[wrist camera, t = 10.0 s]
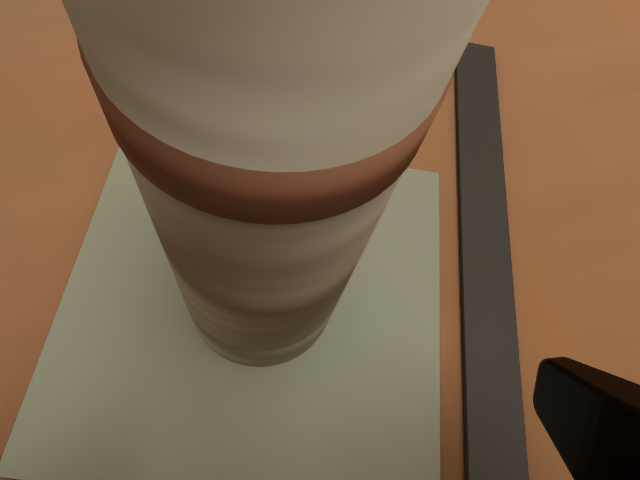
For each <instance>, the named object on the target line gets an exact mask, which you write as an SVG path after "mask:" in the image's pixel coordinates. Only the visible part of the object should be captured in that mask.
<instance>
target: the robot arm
mask: <svg viewBox="0 0 640 480" xmlns="http://www.w3.org/2000/svg"><path fill="white" fill-rule="evenodd" d="M533 404H534V408H535V411H536V413H537V415H538V417H539V419H540V420H541V422H542V424H543V426H544V427H545V429H546V431H547V433H548V434H549V436H550V438H551V440H552V441H553V443H554V445H555V447H556V449H557V450H558V452H559V454H560V456H561V457H562V459H563V461H564V463H565V464H566V466H567V468H568V470H569V471H570V473H571V475H572V477H573V478H574V480H640V385H639V384H636V383H634V382H631V381H628V380H626V379H623V378H620V377H618V376H615V375H612V374H610V373H607V372H604V371H602V370H599V369H596V368H594V367H591V366H588V365H586V364H583V363H580V362H578V361H575V360H572V359H570V358H567V357H556V358H546V359H544V360H542V361H541V362H540V364H539V367H538V372H537V377H536V383H535V389H534V394H533Z"/></svg>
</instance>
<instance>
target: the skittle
mask: <svg viewBox="0 0 640 480" xmlns="http://www.w3.org/2000/svg"><path fill="white" fill-rule="evenodd" d="M62 2H63V4H64V7H65V9H66V12H67V14H68V16H69V19H70V21H71V24H72V26H73V29H74V31H75V34H76V36H77V42H78V47H79V51H80V55H81V60H82V62H83V65H84V67H85V69H86V72H87V74H88V76H89V79H90V81H91V84H92V86H93V88H94V91H95V93H96V96H97V98H98V100H99V103H100V105H101V107H102V110H103V112H104V115H105V117H106V119H107V122H108V124H109V126H110V129H111V131H112V133H113V136H114V138H115V140H116V142H117V144H118V145H119V147H120V148H121V150H122V151H123V153H124V154H125V156H126V159H127V161H128V164H129V166H130V169H131V171H132V174H133V176H134V178H135V181H136V183H137V186H138V188H139V191H140V193H141V196H142V198H143V201H144V203H145V205H146V208H147V210H148V213H149V215H150V218H151V220H152V223H153V225H154V228H155V230H156V232H157V235H158V237H159V240H160V242H161V245H162V247H163V250H164V252H165V255H166V257H167V259H168V262H169V264H170V267H171V269H172V272H173V274H174V277H175V279H176V282H177V284H178V286H179V289H180V291H181V294H182V296H183V299H184V301H185V304H186V306H187V309H188V311H189V313H190V316H191V318H192V321H193V323H194V325H195V328H196V330H197V332H198V333H199V335H200V336H201V338H202V339H203V340H204V342H205V343H206V344H207V345H208V346H209V347H210V348H211V349H212V350H213V351H214V352H216V353H217V354H219V355H220V356H222V357H223V358H226V359H228V360H230V361H232V362H235V363H238V364H241V365H246V366H252V367H267V366H274V365H279V364H282V363H285V362H288V361H290V360H292V359H294V358H296V357H298V356H300V355H301V354H303V353H304V352H305V351H307V350H308V349H309V348H310V347H311V346H312V345H313V344H314V343H315V342H316V341H317V339H318V338H319V337H320V335H321V334H322V332H323V331H324V329H325V327H326V325H327V323H328V321H329V319H330V317H331V315H332V313H333V311H334V309H335V307H336V305H337V303H338V301H339V299H340V297H341V295H342V293H343V291H344V289H345V287H346V285H347V283H348V281H349V279H350V277H351V275H352V273H353V271H354V269H355V267H356V265H357V263H358V261H359V259H360V257H361V255H362V253H363V251H364V249H365V247H366V245H367V243H368V241H369V239H370V237H371V235H372V233H373V231H374V229H375V227H376V225H377V223H378V221H379V219H380V217H381V215H382V213H383V211H384V209H385V207H386V205H387V203H388V201H389V199H390V197H391V196H392V194H393V192H394V190H395V188H396V186H397V184H398V182H399V180H400V178H401V176H402V174H403V172H404V171H405V170H406V169H407V167H408V166H409V164H410V163H411V161H412V160H413V158H414V157H415V155H416V153H417V151H418V149H419V147H420V145H421V143H422V141H423V139H424V137H425V135H426V134H427V132H428V130H429V128H430V126H431V124H432V122H433V120H434V118H435V116H436V114H437V112H438V110H439V108H440V106H441V104H442V102H443V100H444V98H445V96H446V93H447V91H448V89H449V86H450V83H451V79H452V75H453V72H454V70H455V68H456V66H457V64H458V62H459V60H460V58H461V56H462V54H463V52H464V50H465V48H466V46H467V44H468V42H469V40H470V38H471V36H472V34H473V32H474V30H475V28H476V26H477V24H478V22H479V20H480V18H481V16H482V14H483V12H484V10H485V8H486V6H487V4H488V2H489V0H62Z"/></svg>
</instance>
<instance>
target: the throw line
mask: <svg viewBox="0 0 640 480" xmlns="http://www.w3.org/2000/svg"><path fill="white" fill-rule="evenodd" d="M455 96H456V135H457V174H458V212H459V251H460V289H461V328H462V366H463V405H464V444H465V480H529V475H528V462H527V450H526V437H525V425H524V412H523V400H522V387H521V375H520V362H519V350H518V337H517V325H516V313H515V300H514V288H513V275H512V263H511V250H510V238H509V225H508V213H507V200H506V188H505V175H504V163H503V151H502V138H501V126H500V113H499V101H498V88H497V76H496V63H495V51H494V47H490V46H484V45H479V44H474V43H468V44H467V46H466V48H465V50H464V52H463V54H462V56H461V58H460V60H459V62H458V64H457V66H456V68H455Z"/></svg>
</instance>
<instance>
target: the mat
mask: <svg viewBox="0 0 640 480" xmlns="http://www.w3.org/2000/svg"><path fill="white" fill-rule="evenodd" d="M0 477H3V478H12V479H20V480H440V302H439V173H434V172H428V171H422V170H416V169H410V168H407V169H406V170H405V171H404V172H403V174H402V176H401V178H400V180H399V182H398V184H397V186H396V188H395V190H394V192H393V194H392V196H391V197H390V199H389V201H388V203H387V205H386V207H385V209H384V211H383V213H382V215H381V217H380V219H379V221H378V223H377V225H376V227H375V229H374V231H373V233H372V235H371V237H370V239H369V241H368V243H367V245H366V247H365V249H364V251H363V253H362V255H361V257H360V259H359V261H358V263H357V265H356V267H355V269H354V271H353V273H352V275H351V277H350V279H349V281H348V283H347V285H346V287H345V289H344V291H343V293H342V295H341V297H340V299H339V301H338V303H337V305H336V307H335V309H334V311H333V313H332V315H331V317H330V319H329V321H328V323H327V325H326V327H325V329H324V331H323V332H322V334H321V335H320V337H319V338H318V339H317V341H316V342H315V343H314V344H313V345H312V346H311V347H310V348H309V349H308V350H307V351H305V352H304V353H303V354H301V355H300V356H298V357H296V358H294V359H292V360H290V361H288V362H285V363H282V364H279V365H274V366H267V367H252V366H246V365H241V364H238V363H235V362H232V361H230V360H228V359H226V358H223V357H222V356H220V355H219V354H217V353H216V352H214V351H213V350H212V349H211V348H210V347H209V346H208V345H207V344H206V343H205V342H204V340H203V339H202V338H201V336H200V335H199V333H198V332H197V330H196V328H195V325H194V323H193V321H192V318H191V316H190V313H189V311H188V309H187V306H186V304H185V301H184V299H183V296H182V294H181V291H180V289H179V286H178V284H177V282H176V279H175V277H174V274H173V272H172V269H171V267H170V264H169V262H168V259H167V257H166V255H165V252H164V250H163V247H162V245H161V242H160V240H159V237H158V235H157V232H156V230H155V228H154V225H153V223H152V220H151V218H150V215H149V213H148V210H147V208H146V205H145V203H144V201H143V198H142V196H141V193H140V191H139V188H138V186H137V183H136V181H135V178H134V176H133V174H132V171H131V169H130V166H129V164H128V161H127V159H126V156H125V154H124V153H123V151H122V150H121V148H120V147H119V149H118V151H117V154H116V157H115V159H114V162H113V165H112V167H111V170H110V173H109V175H108V178H107V181H106V183H105V186H104V189H103V191H102V194H101V196H100V199H99V202H98V204H97V207H96V210H95V212H94V215H93V218H92V220H91V223H90V226H89V228H88V231H87V233H86V236H85V239H84V241H83V244H82V247H81V249H80V252H79V255H78V257H77V260H76V263H75V265H74V268H73V270H72V273H71V276H70V278H69V281H68V284H67V286H66V289H65V292H64V294H63V297H62V300H61V302H60V305H59V308H58V310H57V313H56V315H55V318H54V321H53V323H52V326H51V329H50V331H49V334H48V337H47V339H46V342H45V345H44V347H43V350H42V352H41V355H40V358H39V360H38V363H37V366H36V368H35V371H34V374H33V376H32V379H31V382H30V384H29V387H28V389H27V392H26V395H25V397H24V400H23V403H22V405H21V408H20V411H19V413H18V416H17V419H16V421H15V424H14V427H13V429H12V432H11V434H10V437H9V440H8V442H7V445H6V448H5V450H4V453H3V456H2V458H1V461H0Z"/></svg>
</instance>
